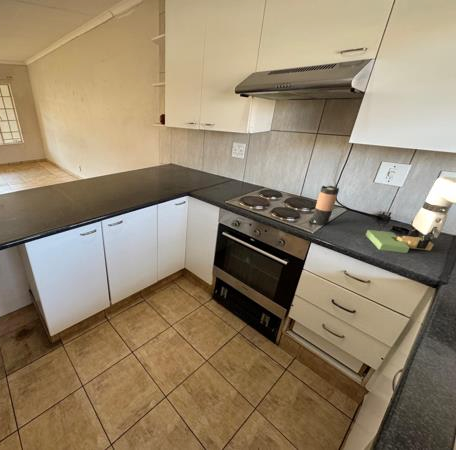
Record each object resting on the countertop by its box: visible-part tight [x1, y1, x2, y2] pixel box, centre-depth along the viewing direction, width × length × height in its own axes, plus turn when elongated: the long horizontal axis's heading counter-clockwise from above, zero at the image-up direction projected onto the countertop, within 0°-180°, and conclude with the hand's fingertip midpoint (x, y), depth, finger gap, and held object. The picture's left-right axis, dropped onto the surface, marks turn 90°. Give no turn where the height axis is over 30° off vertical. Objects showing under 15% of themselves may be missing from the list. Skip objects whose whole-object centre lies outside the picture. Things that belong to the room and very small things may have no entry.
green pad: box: [365, 229, 411, 254], centre depth 113 cm, size 10×14×3 cm
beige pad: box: [396, 235, 434, 251], centre depth 110 cm, size 11×6×3 cm, turn 73°
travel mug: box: [312, 185, 340, 227], centre depth 129 cm, size 8×8×20 cm
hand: (415, 244), depth 110 cm, fingers closed on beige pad, 6 cm apart
